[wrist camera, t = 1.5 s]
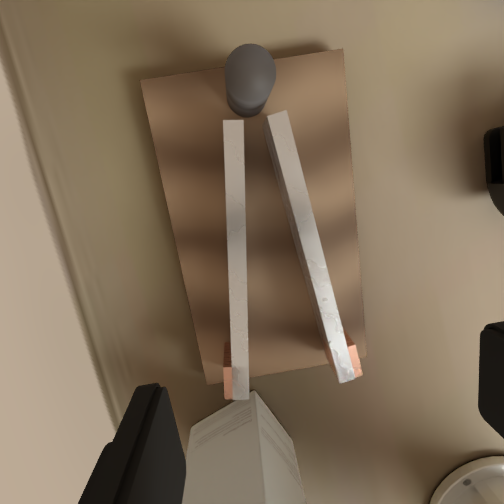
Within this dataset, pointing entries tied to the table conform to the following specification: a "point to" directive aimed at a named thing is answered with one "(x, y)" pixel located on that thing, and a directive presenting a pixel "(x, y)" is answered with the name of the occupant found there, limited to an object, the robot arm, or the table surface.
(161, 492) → the robot arm
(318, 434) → the table surface
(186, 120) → the tong board
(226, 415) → the supplement box
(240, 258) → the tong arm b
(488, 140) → the end cap
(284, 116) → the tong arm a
